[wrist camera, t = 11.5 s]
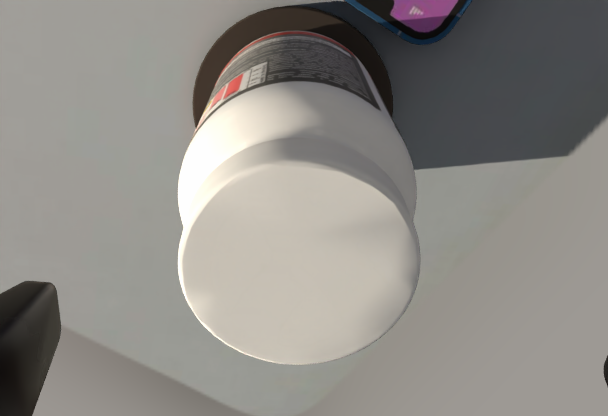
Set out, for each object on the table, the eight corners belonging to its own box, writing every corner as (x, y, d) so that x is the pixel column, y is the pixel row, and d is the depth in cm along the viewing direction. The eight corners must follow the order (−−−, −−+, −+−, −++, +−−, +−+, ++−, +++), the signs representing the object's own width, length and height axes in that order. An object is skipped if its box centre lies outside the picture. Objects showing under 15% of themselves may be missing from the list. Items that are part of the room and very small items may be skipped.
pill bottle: (179, 113, 19) (83, 275, 10) (292, -12, 17) (291, 55, 9) (298, 214, 21) (302, 422, 12) (410, 110, 19) (510, 267, 10)
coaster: (408, 17, 18) (410, 19, 18) (374, 205, 21) (375, 209, 21) (195, -6, 18) (193, -4, 17) (192, 189, 21) (191, 193, 21)
